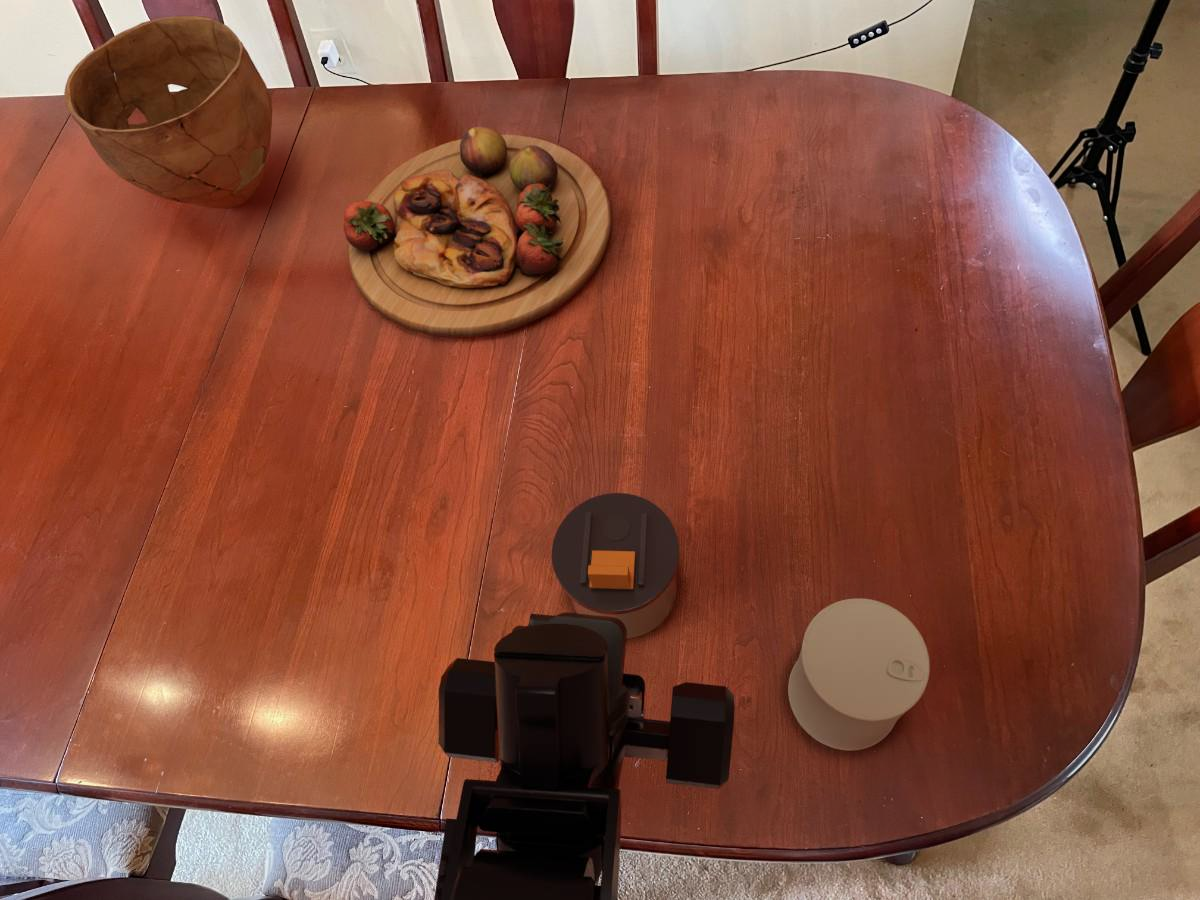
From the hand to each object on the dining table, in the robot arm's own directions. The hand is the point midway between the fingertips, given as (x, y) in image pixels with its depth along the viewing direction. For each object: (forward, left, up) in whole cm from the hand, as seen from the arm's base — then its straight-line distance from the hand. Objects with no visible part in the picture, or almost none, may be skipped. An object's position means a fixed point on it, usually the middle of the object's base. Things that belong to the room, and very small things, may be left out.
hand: (601, 662), depth 63 cm
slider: (+7, +5, -4) cm, 10 cm away
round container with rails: (+9, +6, -13) cm, 17 cm away
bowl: (+19, +80, -13) cm, 84 cm away
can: (+13, -15, -13) cm, 23 cm away
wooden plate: (+33, +48, -13) cm, 60 cm away
